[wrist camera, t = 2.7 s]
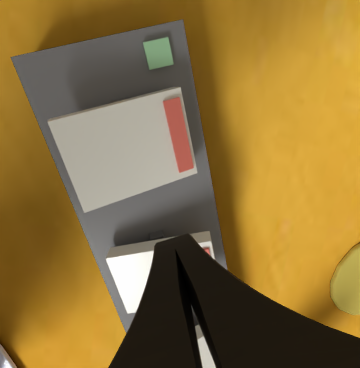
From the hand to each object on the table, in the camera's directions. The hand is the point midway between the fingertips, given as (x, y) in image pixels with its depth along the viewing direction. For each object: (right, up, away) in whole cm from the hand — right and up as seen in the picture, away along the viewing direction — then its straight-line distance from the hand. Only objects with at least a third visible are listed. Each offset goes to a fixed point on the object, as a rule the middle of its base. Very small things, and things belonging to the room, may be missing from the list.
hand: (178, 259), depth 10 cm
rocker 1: (-2, +5, +3) cm, 6 cm away
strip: (-2, -1, +10) cm, 11 cm away
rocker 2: (-1, -3, +6) cm, 7 cm away
